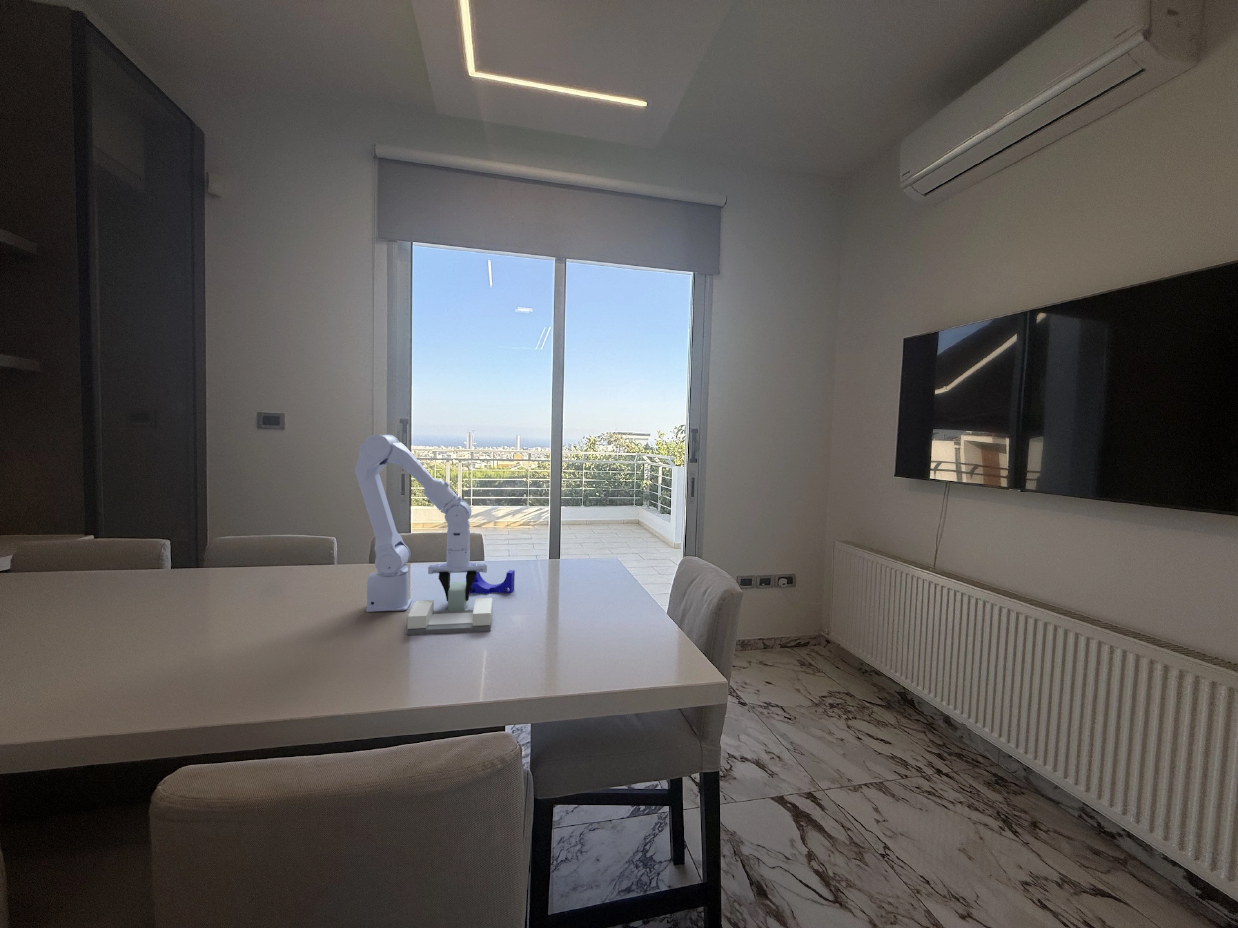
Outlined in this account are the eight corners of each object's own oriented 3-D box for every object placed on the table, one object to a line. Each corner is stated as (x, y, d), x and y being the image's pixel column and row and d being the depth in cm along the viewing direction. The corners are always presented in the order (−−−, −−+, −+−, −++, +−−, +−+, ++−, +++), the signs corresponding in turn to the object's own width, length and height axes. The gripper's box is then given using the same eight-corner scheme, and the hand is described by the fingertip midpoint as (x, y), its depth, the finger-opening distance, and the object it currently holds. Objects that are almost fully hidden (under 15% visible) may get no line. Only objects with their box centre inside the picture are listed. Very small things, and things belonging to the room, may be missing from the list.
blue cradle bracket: (468, 593, 147) (468, 572, 147) (473, 588, 152) (473, 568, 151) (509, 595, 146) (510, 574, 146) (514, 590, 151) (514, 570, 150)
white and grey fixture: (407, 634, 116) (407, 617, 116) (416, 616, 128) (416, 599, 127) (490, 630, 120) (490, 613, 119) (492, 612, 131) (492, 597, 131)
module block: (447, 610, 132) (447, 591, 132) (451, 600, 140) (451, 582, 139) (464, 610, 133) (464, 590, 132) (467, 600, 141) (467, 581, 140)
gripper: (426, 552, 130) (426, 605, 131) (486, 551, 133) (485, 603, 134) (430, 546, 137) (430, 597, 138) (487, 545, 140) (487, 595, 141)
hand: (457, 599), depth 136 cm, fingers closed on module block, 4 cm apart
